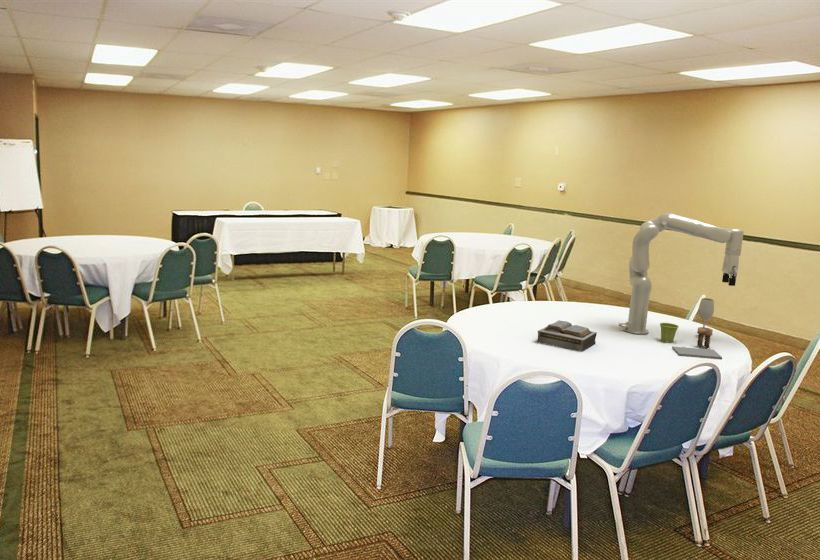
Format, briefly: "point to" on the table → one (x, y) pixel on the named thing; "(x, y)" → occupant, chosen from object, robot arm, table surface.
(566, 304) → the table surface
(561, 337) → the bible
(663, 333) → the plant pot
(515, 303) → the table surface
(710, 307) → the wineglass
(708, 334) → the stool
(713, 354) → the mat
